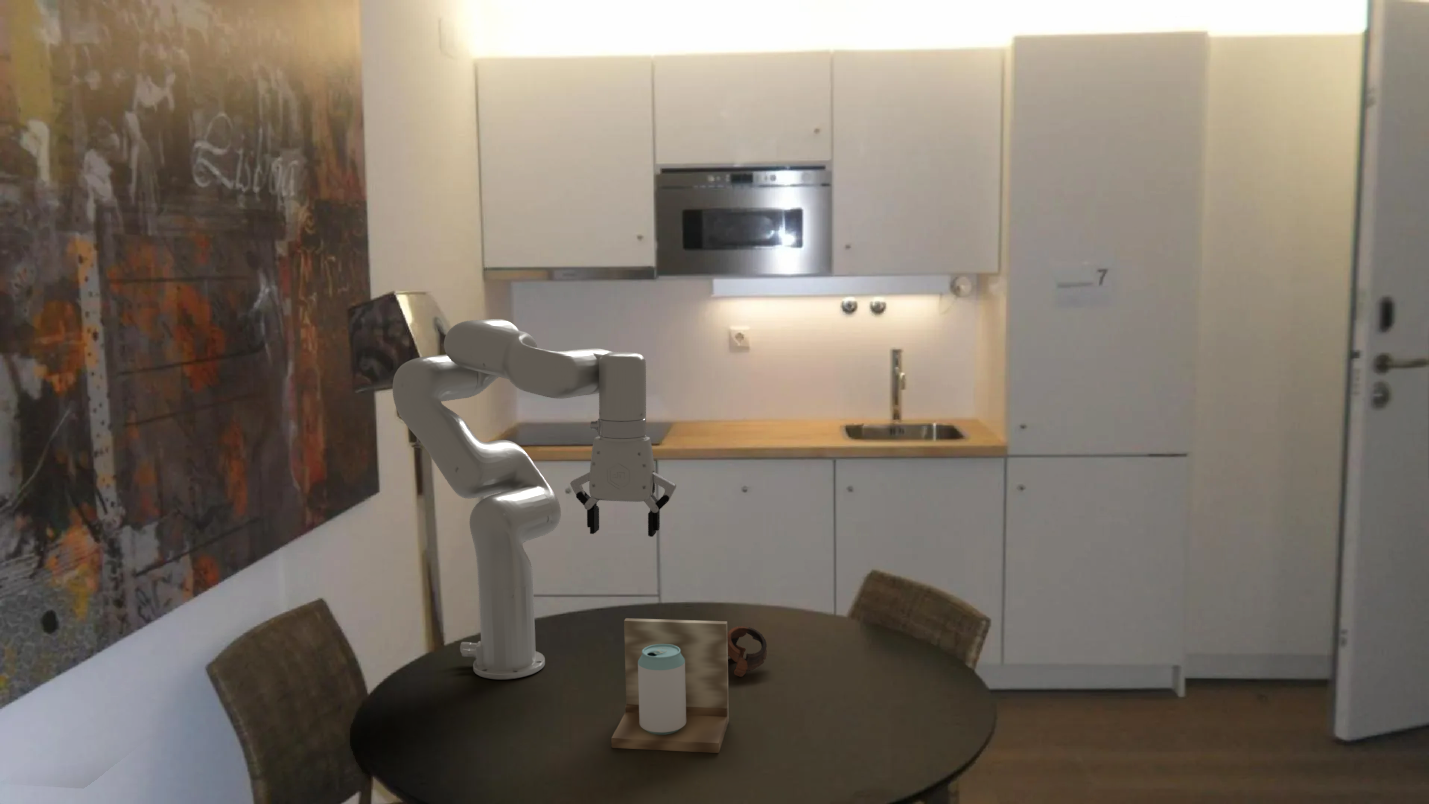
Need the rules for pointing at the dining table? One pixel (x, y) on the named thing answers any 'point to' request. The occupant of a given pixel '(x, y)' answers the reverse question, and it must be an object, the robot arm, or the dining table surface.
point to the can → (662, 689)
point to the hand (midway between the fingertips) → (623, 533)
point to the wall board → (702, 679)
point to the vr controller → (738, 651)
